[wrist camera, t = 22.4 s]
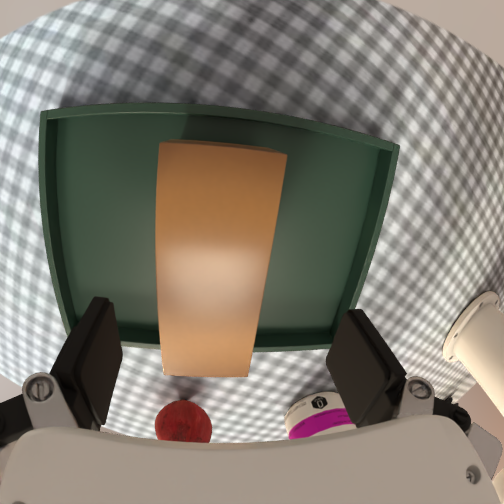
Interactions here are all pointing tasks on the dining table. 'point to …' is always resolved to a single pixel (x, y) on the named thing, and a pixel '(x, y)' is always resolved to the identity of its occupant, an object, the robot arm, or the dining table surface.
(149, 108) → the tray
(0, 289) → the dining table surface
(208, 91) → the dining table surface
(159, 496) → the robot arm
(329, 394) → the supplement can
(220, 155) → the tan wooden block
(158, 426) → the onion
